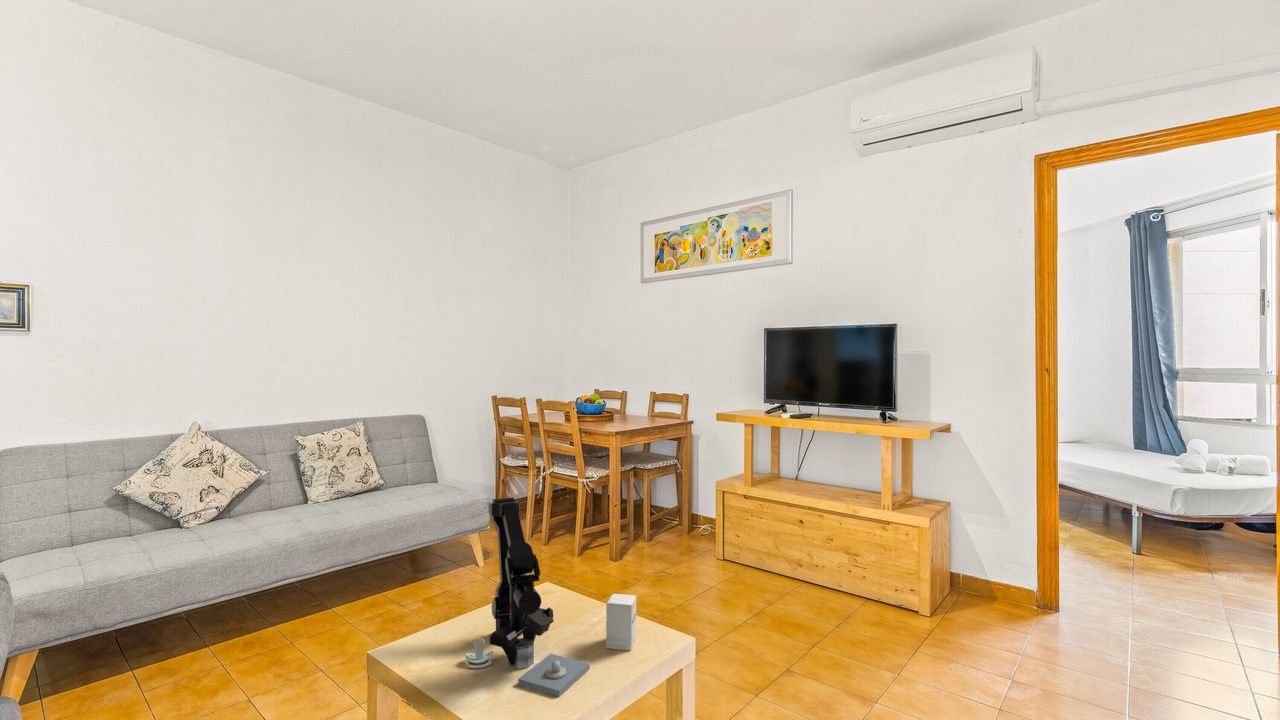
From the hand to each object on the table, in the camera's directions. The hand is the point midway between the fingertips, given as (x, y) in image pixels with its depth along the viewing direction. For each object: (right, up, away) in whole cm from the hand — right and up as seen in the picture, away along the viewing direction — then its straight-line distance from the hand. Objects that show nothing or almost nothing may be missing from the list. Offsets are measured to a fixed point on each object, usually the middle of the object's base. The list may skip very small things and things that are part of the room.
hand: (520, 658), depth 156 cm
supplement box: (+26, -1, +11) cm, 28 cm away
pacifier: (-11, -1, 0) cm, 11 cm away
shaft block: (+10, -1, -7) cm, 12 cm away
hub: (0, -1, 0) cm, 1 cm away
